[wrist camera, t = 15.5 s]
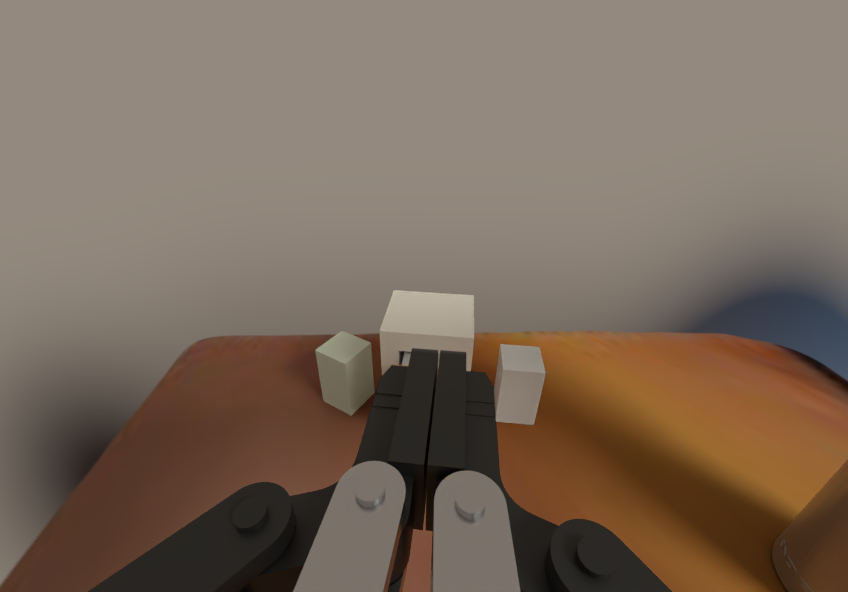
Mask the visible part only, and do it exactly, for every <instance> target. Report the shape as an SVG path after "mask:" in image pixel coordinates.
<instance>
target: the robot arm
mask: <svg viewBox="0 0 848 592" xmlns="http://www.w3.org/2000/svg"><path fill="white" fill-rule="evenodd" d="M466 355H467V354H466V352H459V351H446V350H440V358H439V367H438V350H432V349H419V348H412V351H411V355H410V360H409V365H408V366H397V365H391V367H390V368H389V369H388V370H387V371H386V372H385V373H384V374H383V375H382V376H381V377H380V381H379V384H378V387H377V391H376V396H375V397H374V401H373V404H372V409H371V411H370V414H369V417H368V421H367V424H366V427H365V431H364V434H363V437H362V441H361V444H360V447H359V451H358V454H357V457H356V460H355V463H354V464H353V466H352V468H351V469H349V470H348V471H347V472H346V473H345V474H344V475H343V476H342V477H341V479H340V480H339V481H338V482H337V483H335V484H333V485H331V486H329V487H327V488H325V489H321V490H317V491H313V492H308V493H303V494H299V495H294V496H289V495H288V493H287V491H286V490H285V489H284V488H283V487H281V486H280V485H277V484H275V483H270V482H260V483H255V484H251V485H248V486H246V487H244V488H242V489H240V490H238V491H237V492H235V493H234V494H232V495H231V496H229V497H228V498H226V499H225V500H223V501H222V502H220V503H219V504H217V505H216V506H214V507H213V508H211V509H210V510H208V511H207V512H205V513H204V514H202V515H201V516H200V517H198V518H197V519H195V520H194V521H192V522H191V523H189V524H188V525H186V526H185V527H183V528H182V529H180V530H179V531H177V532H176V533H174V534H173V535H171V536H170V537H168V538H167V539H165V540H164V541H162V542H161V543H159V544H158V545H156V546H155V547H154V548H152V549H151V550H149V551H148V552H146V553H145V554H143V555H142V556H140V557H139V558H137V559H136V560H134V561H133V562H131V563H130V564H128V565H127V566H125V567H124V568H122V569H121V570H119V571H118V572H116V573H115V574H113V575H112V576H110V577H109V578H108V579H106V580H105V581H103V582H102V583H100V584H99V585H97V586H96V587H94V588H93V589H91V590H90V591H88V592H402V590H403V585H404V580H405V575H406V570H407V563H408V561H409V556H410V549H411V541H412V533H413V529H419V530H423V523H424V514H425V504H426V530H429V531H433V536H432V560H431V592H672V591H671V590H670V589H669V588H668V587H667V586H666V585H665V584H664V583H663V582H662V581H661V580H660V579H659V578H658V577H657V576H656V575H655V574H654V573H653V572H652V571H651V570H650V569H649V568H648V567H647V566H646V565H645V564H644V563H643V562H642V561H641V560H640V559H639V558H638V557H637V556H636V555H635V554H634V553H633V552H632V551H631V550H630V549H629V548H628V547H627V546H626V545H625V544H624V543H623V542H622V541H621V540H620V539H619V538H618V537H617V536H616V535H614V534H613V533H612V532H611V531H610V530H608V529H607V528H605V527H603V526H602V525H600V524H598V523H595V522H593V521H589V520H585V519H573V520H569V521H566V522H564V523H562V524H561V525H560V526H557V525H555V524H553V523H551V522H548V521H546V520H544V519H542V518H539V517H537V516H535V515H533V514H531V513H529V512H527V511H525V510H524V509H523V508H521V507H520V506H519V505H517V504H516V503H515V502H514V501H513V500H512V498H511V497H510V496H509V495H508V493H507V492H506V490H505V488H504V486H503V484H502V481H501V477H500V469H499V455H498V440H497V426H496V412H495V398H494V387H493V385H492V383H491V382H490V380H489V379H488V377H487V375H486V374H485V373H484V372H472V371H466ZM426 495H427V500H426ZM772 558H773V563H774V566H775V569H776V572H777V574H778V576H779V578H780V580H781V581H782V583H783V585H784V587H785V588H786V590H787V591H788V592H848V460H847V461H846V462H845V463H844V464H843V466H842V467H841V468H840V469H839V470H838V471H837V472H836V473H835V474H834V475H833V477H832V478H831V479H830V480H829V481H828V482H827V483H826V484H825V485H824V487H823V488H822V489H821V490H820V491H819V492H818V493H817V494H816V495H815V497H814V498H813V499H812V500H811V501H810V502H809V503H808V504H807V505H806V507H805V508H804V509H803V510H802V511H801V512H800V513H799V514H798V515H797V516H796V517H795V519H794V520H793V521H792V522H791V523H790V524H789V525H788V526H787V528H786V529H785V530H784V531H783V532H782V533H781V534H780V535H779V537H778V538H777V539H776V540H775V542H774V543H773V548H772Z"/></svg>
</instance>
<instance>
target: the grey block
mask: <svg viewBox="0 0 848 592" xmlns="http://www.w3.org/2000/svg"><path fill="white" fill-rule="evenodd" d="M545 375H546V372H545V368H544V364H543V360H542V356H541V352H540V348H539V347H531V346H518V345H505V344H500V350H499V357H498V364H497V371H496V378H495V385H494V398H495V412H496V422H507V423H517V424H527V425H534V422H535V418H536V413H537V409H538V405H539V400H540V396H541V392H542V388H543V383H544V379H545Z"/></svg>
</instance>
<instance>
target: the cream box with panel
mask: <svg viewBox="0 0 848 592" xmlns="http://www.w3.org/2000/svg"><path fill="white" fill-rule="evenodd" d="M473 345H474V296H473V295H457V294H443V293H428V292H413V291H398V290H394V292H393V295H392V298H391V300H390V303H389V306H388V309H387V311H386V314H385V317H384V320H383V323H382V325H381V328H380V350H381V368H382V375H383V374H384V373H385V372H386V371H387V370H388V369H389V368H390V367H391V364H397V365H402V361H403V357H404V352H405V351H408V352H411V351H412V348H419V349H432V350H438V354H440V350H446V351H459V352H466V354H467V355H466V371H471V364H472V355H473Z"/></svg>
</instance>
